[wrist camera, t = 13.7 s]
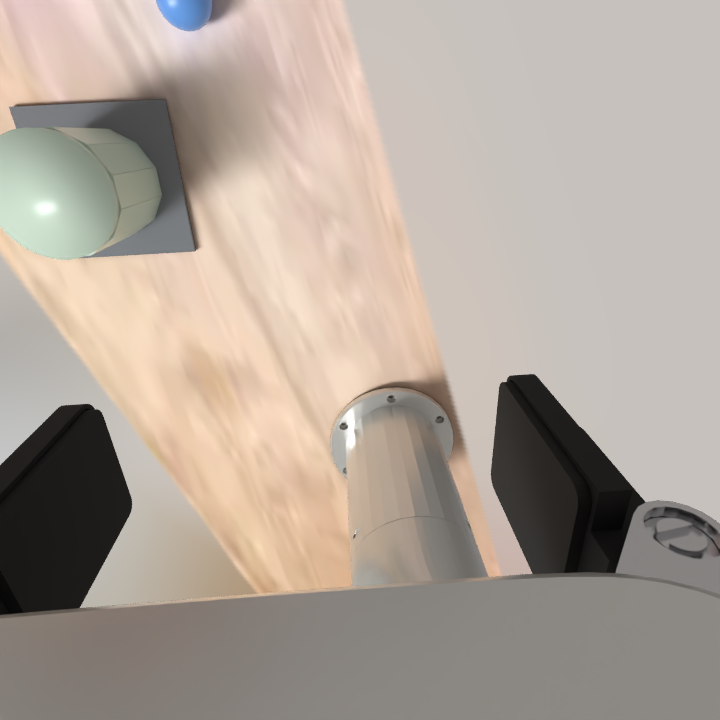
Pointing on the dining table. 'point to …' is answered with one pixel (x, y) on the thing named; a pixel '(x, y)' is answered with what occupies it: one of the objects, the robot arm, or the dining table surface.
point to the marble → (186, 13)
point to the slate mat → (155, 138)
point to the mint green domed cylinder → (74, 189)
